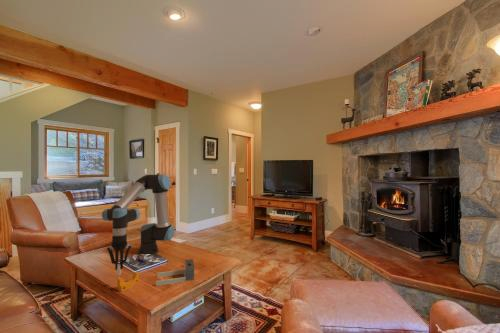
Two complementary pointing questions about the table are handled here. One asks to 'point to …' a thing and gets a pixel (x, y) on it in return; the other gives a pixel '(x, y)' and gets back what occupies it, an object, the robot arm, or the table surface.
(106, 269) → the table surface
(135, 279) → the pipe clamp
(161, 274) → the frame
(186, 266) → the unit housing
